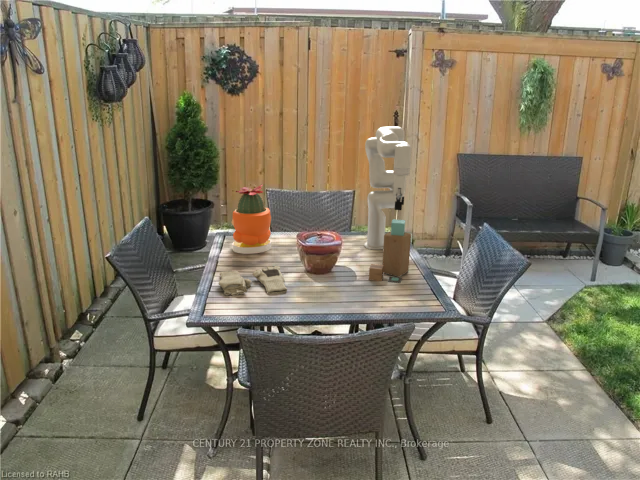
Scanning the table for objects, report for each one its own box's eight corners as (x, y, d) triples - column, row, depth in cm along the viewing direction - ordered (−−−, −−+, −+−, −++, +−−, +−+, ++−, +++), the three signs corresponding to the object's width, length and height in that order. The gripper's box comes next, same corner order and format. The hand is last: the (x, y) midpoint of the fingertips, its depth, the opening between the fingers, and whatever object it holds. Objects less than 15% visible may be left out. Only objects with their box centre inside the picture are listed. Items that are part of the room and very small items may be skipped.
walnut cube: (370, 275, 260) (371, 263, 258) (383, 276, 258) (383, 265, 257) (368, 279, 254) (369, 268, 252) (381, 281, 253) (382, 269, 251)
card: (389, 277, 258) (389, 276, 258) (401, 278, 256) (402, 277, 256) (387, 281, 252) (387, 280, 252) (400, 283, 251) (400, 282, 251)
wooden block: (399, 277, 257) (401, 238, 251) (381, 272, 263) (383, 233, 257) (409, 271, 265) (412, 233, 258) (391, 267, 270) (393, 229, 264)
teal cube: (392, 231, 261) (392, 219, 259) (404, 232, 260) (405, 220, 258) (390, 234, 255) (391, 222, 254) (403, 235, 254) (404, 223, 252)
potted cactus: (228, 245, 297) (225, 183, 286) (266, 241, 306) (265, 180, 295) (239, 258, 279) (237, 192, 268) (280, 252, 288) (279, 188, 277)
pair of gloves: (281, 273, 262) (281, 262, 260) (287, 294, 238) (287, 283, 236) (218, 276, 257) (218, 265, 255) (218, 298, 233) (218, 286, 231)
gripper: (395, 167, 257) (393, 202, 263) (391, 174, 241) (388, 211, 247) (411, 168, 255) (408, 203, 261) (408, 175, 239) (405, 212, 245)
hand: (399, 207), depth 254 cm, fingers open, 9 cm apart
